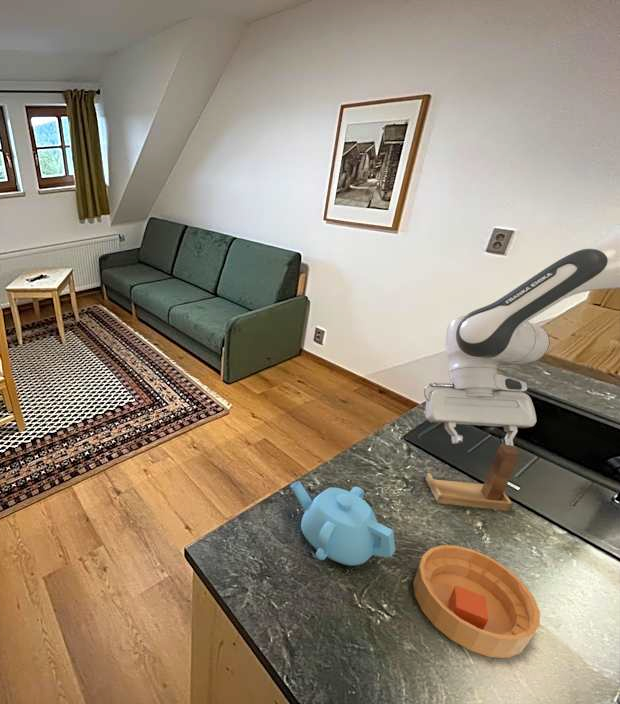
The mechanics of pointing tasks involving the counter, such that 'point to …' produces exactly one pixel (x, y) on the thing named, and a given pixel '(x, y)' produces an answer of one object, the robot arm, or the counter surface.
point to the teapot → (343, 526)
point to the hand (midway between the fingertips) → (482, 445)
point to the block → (469, 606)
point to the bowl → (484, 579)
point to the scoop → (477, 493)
